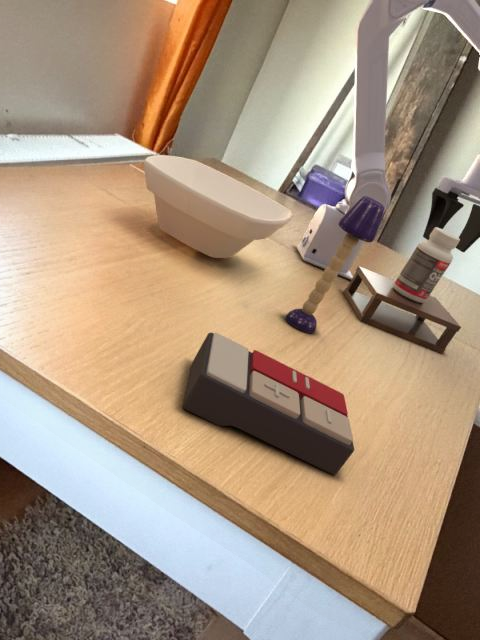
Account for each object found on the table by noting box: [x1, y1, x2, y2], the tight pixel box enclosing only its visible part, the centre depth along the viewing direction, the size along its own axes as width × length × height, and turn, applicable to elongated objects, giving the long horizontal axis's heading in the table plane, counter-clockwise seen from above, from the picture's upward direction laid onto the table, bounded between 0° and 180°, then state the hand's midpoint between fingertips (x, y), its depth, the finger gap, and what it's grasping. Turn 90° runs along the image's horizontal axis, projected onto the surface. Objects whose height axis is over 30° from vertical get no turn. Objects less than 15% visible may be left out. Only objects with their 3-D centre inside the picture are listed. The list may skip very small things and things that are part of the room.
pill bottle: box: [393, 227, 460, 303], centre depth 110 cm, size 5×5×10 cm
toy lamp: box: [285, 196, 385, 334], centre depth 93 cm, size 5×5×17 cm
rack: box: [342, 265, 462, 354], centre depth 114 cm, size 14×12×4 cm
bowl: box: [143, 154, 293, 259], centre depth 107 cm, size 21×21×9 cm
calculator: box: [182, 332, 355, 476], centre depth 69 cm, size 11×4×15 cm
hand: (443, 244), depth 125 cm, fingers open, 7 cm apart
